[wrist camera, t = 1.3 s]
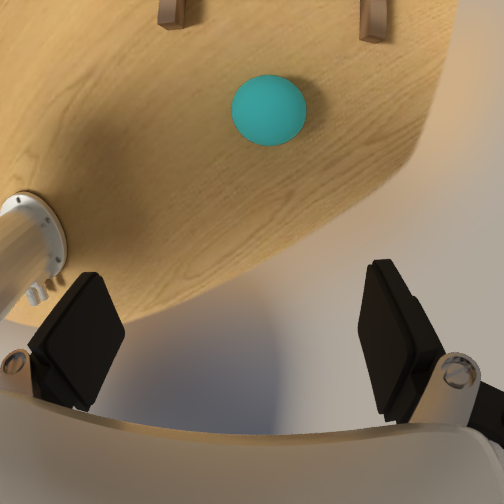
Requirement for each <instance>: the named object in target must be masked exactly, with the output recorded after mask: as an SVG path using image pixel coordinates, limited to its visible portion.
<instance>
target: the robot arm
mask: <svg viewBox="0 0 504 504" xmlns="http://www.w3.org/2000/svg"><path fill="white" fill-rule="evenodd" d="M66 258H67V244H66V239H65V234H64V231H63V229H62V226H61V224H60V222H59V220H58V218H57V216H56V215H55V213H54V212H53V210H52V209H51V208H50V207H49V206H48V204H47V203H46V202H45V201H43V200H42V199H41V198H40V197H38V196H36V195H34V194H33V193H29V192H18V193H15V194H13V195H12V196H10V197H9V198H8V199H7V200H6V201H5V202H4V204H3V205H2V208H1V211H0V323H1V322H2V320H3V319H4V318H5V317H6V315H7V314H8V313H9V312H10V310H11V309H12V308H13V307H14V306H15V304H16V303H17V302H18V301H19V300H20V298H21V297H22V296H23V295H24V294H25V293H26V295H27V298H28V300H29V303H30V305H31V306H36V305H38V304H39V303H40V302H41V300H42V301H44V300H47V299H48V297H49V296H48V293H47V290H46V288H45V286H44V283H45V280H46V279H49V278H52V277H54V276H55V275H57V274H58V273H59V272H60V271H61V269H62V268H63V266H64V264H65V261H66ZM36 288H37V289H36ZM37 290H38V291H37ZM358 335H359V339H360V342H361V346H362V350H363V353H364V357H365V361H366V365H367V368H368V372H369V376H370V380H371V384H372V388H373V393H374V397H375V401H376V405H377V410H378V413H379V414H384V418H385V422H390V421H395V420H396V425H388V426H380V427H371V428H364V429H357V430H347V431H337V432H326V433H310V434H291V435H234V434H215V433H201V432H191V431H182V430H173V429H166V428H159V427H152V426H146V425H140V424H134V423H129V422H123V421H119V420H114V419H109V418H105V417H101V416H96V415H92V414H88V413H85V412H88V411H89V408H90V406H91V405H93V404H94V402H95V400H96V398H97V396H98V393H99V391H100V389H101V386H102V384H103V382H104V380H105V378H106V375H107V373H108V371H109V369H110V367H111V365H112V362H113V360H114V358H115V356H116V354H117V352H118V350H119V348H120V346H121V343H122V341H123V339H124V337H125V330H124V327H123V325H122V323H121V320H120V318H119V316H118V314H117V311H116V309H115V307H114V305H113V302H112V300H111V297H110V295H109V293H108V290H107V288H106V285H105V283H104V280H103V278H102V277H101V276H99V274H98V273H97V272H83V273H82V274H81V275H80V276H79V277H78V278H77V279H76V281H75V282H74V283H73V284H72V286H71V287H70V288H69V289H68V290H67V292H66V293H65V294H64V296H63V297H62V298H61V299H60V301H59V302H58V303H57V305H56V306H55V307H54V308H53V310H52V311H51V312H50V314H49V315H48V316H47V318H46V319H45V321H44V322H43V323H42V325H41V326H40V327H39V329H38V330H37V332H36V333H35V335H34V336H33V337H32V339H31V340H30V342H29V343H28V344H27V345H28V347H29V348H30V350H31V351H32V353H31V355H29V353H28V352H27V351H26V350H24V349H18V350H14V351H13V352H11V353H9V354H8V355H7V356H6V357H5V359H4V360H3V361H2V364H1V367H0V504H504V392H503V391H501V390H499V389H497V388H495V387H492V386H490V385H488V384H486V383H484V382H482V381H481V372H480V368H479V366H478V365H477V363H476V362H475V361H474V360H473V359H472V358H471V357H469V356H467V355H466V354H463V353H459V352H451V353H448V354H446V352H445V350H444V348H443V346H442V344H441V342H440V340H439V338H438V336H437V334H436V332H435V330H434V328H433V326H432V325H431V323H430V321H429V319H428V317H427V315H426V313H425V311H424V310H423V308H422V306H421V304H420V303H419V301H418V299H417V298H416V297H415V296H412V295H411V293H410V291H409V289H408V287H407V286H406V284H405V282H404V280H403V279H402V277H401V275H400V274H399V272H398V270H397V268H396V267H395V265H394V264H393V262H392V260H391V259H381V260H374V261H373V263H372V265H368V267H367V272H366V279H365V287H364V293H363V299H362V305H361V311H360V316H359V322H358ZM73 406H75V408H76V409H78V410H82V411H85V412H81V411H77V410H73V409H72V408H73Z"/></svg>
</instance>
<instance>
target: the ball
mask: <svg viewBox="0 0 504 504" xmlns="http://www.w3.org/2000/svg"><path fill="white" fill-rule="evenodd" d="M231 113H232V119H233V122H234V124H235V126H236V128H237V129H238V131H239V132H240V133H241V134H242V135H243V136H244V137H245V138H246V139H248V140H249V141H251V142H253V143H256V144H259V145H264V146H275V145H280V144H283V143H286V142H288V141H289V140H291V139H292V138H294V137H295V136H296V135H297V134H298V133H299V131H300V130H301V128H302V127H303V125H304V122H305V119H306V103H305V99H304V97H303V95H302V93H301V92H300V90H299V89H298V88H297V87H296V86H295V85H294V84H293V83H292V82H290V81H289V80H287V79H285V78H282V77H279V76H275V75H262V76H258V77H255V78H252V79H250V80H248V81H247V82H245V83H244V84H243V85H242V86H241V87H240V88H239V89H238V91H237V92H236V94H235V96H234V98H233V102H232V107H231Z"/></svg>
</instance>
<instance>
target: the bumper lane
mask: <svg viewBox="0 0 504 504" xmlns="http://www.w3.org/2000/svg"><path fill="white" fill-rule="evenodd" d="M185 1H186V0H159V11H158V23H157V24H158V25H160V26H162V27H163V28H165V29H167V30H175V29H183V28H184V14H185ZM386 33H387V2H386V0H360V37H359V40H362V41H366V42H370V43H377V42H379V41H382V40H385V39H386Z"/></svg>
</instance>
